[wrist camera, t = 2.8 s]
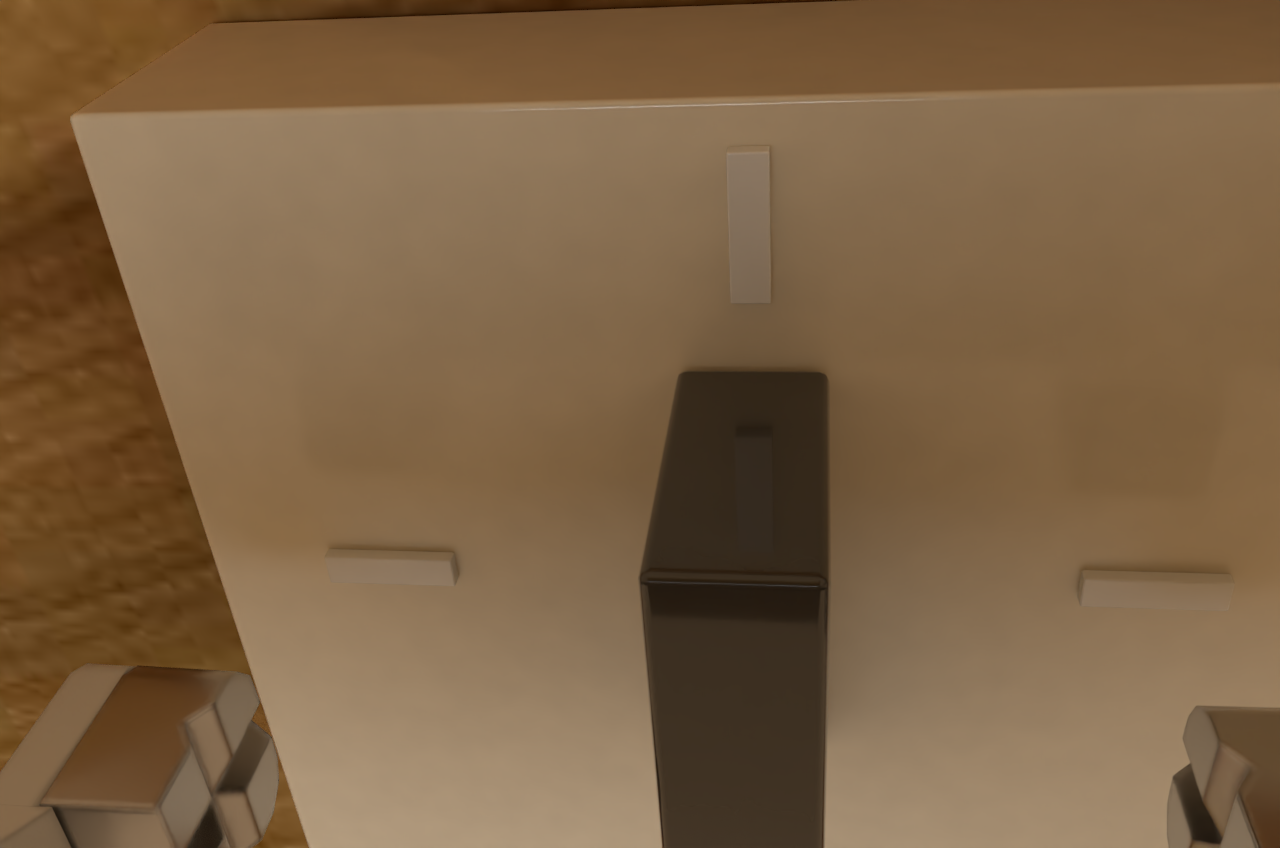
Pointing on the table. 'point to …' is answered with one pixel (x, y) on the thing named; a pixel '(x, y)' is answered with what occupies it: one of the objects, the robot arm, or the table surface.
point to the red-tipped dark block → (740, 611)
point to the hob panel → (722, 341)
